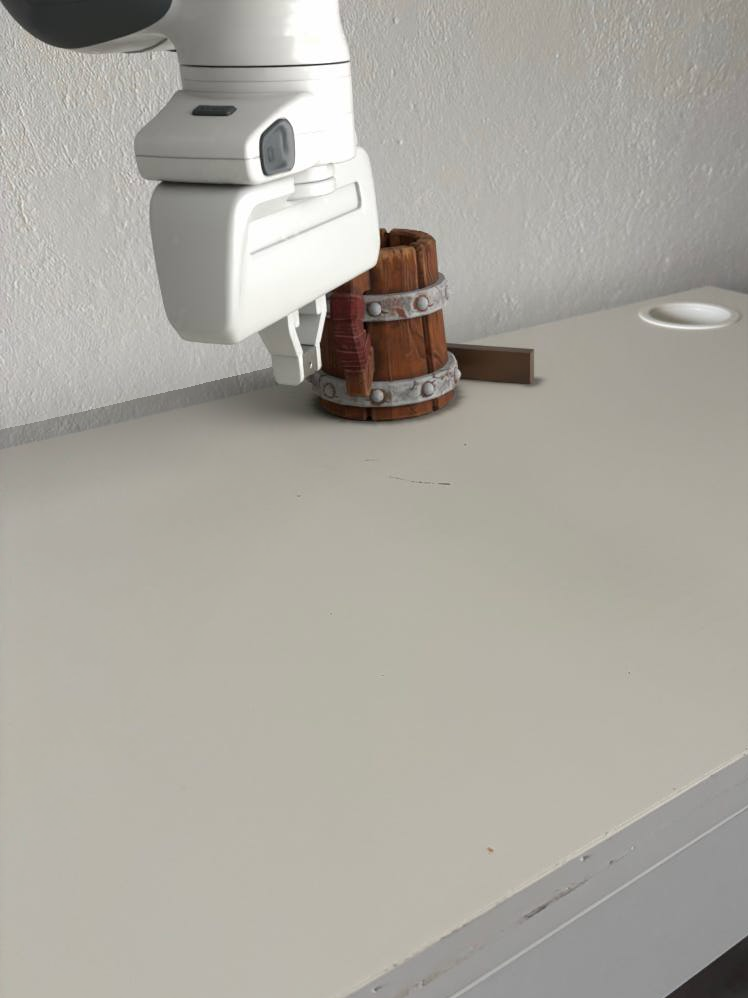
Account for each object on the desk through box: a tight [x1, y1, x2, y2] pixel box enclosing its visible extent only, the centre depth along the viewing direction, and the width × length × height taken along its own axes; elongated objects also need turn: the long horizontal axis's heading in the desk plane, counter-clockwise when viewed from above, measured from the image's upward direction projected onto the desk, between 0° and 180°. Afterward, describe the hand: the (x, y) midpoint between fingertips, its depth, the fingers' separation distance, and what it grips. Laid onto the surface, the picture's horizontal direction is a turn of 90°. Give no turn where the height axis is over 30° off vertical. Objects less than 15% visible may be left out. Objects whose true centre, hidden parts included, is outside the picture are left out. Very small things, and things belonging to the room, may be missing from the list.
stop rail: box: [446, 342, 535, 385], centre depth 84 cm, size 14×1×2 cm, turn 72°
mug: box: [306, 227, 461, 422], centre depth 76 cm, size 12×14×15 cm
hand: (298, 377), depth 63 cm, fingers closed
